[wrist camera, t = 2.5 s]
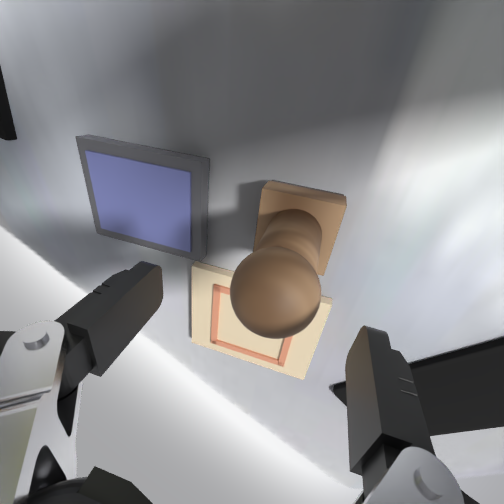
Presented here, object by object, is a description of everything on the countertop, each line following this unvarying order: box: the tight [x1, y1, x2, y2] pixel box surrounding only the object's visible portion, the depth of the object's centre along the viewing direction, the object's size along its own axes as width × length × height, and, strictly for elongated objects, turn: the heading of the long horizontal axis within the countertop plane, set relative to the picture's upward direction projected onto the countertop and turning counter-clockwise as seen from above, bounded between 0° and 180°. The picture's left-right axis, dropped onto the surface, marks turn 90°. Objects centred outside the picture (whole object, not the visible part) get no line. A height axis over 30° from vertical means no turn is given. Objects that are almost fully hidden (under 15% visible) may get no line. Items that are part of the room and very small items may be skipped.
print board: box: [191, 261, 332, 380], centre depth 24 cm, size 12×10×1 cm
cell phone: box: [333, 338, 504, 436], centre depth 22 cm, size 9×18×1 cm, turn 134°
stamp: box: [230, 180, 347, 339], centre depth 14 cm, size 5×5×10 cm
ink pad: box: [76, 135, 209, 262], centre depth 21 cm, size 10×8×1 cm
